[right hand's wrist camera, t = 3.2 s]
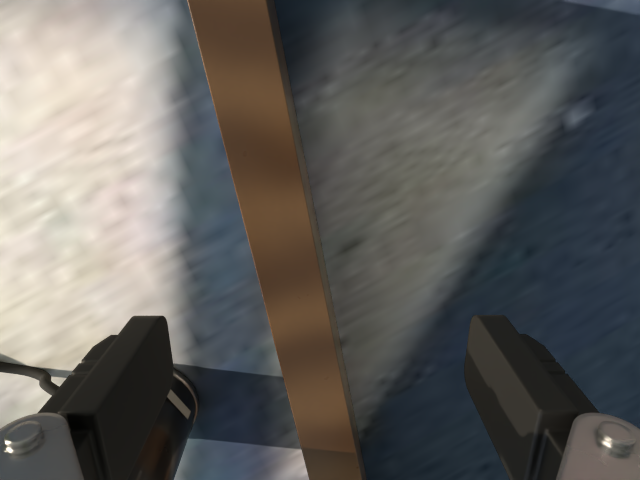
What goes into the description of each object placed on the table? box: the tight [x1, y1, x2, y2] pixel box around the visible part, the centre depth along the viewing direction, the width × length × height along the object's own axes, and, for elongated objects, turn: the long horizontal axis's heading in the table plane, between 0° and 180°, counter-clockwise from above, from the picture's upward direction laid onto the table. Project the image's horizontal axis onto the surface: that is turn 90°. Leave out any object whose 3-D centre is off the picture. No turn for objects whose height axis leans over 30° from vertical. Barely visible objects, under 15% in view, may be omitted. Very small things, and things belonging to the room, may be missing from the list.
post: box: [187, 0, 367, 480], centre depth 40 cm, size 75×4×9 cm, turn 10°
